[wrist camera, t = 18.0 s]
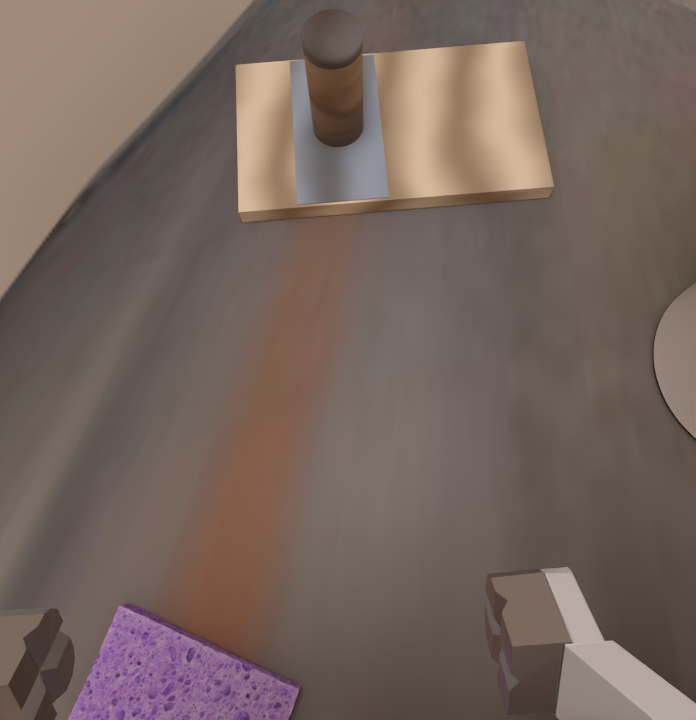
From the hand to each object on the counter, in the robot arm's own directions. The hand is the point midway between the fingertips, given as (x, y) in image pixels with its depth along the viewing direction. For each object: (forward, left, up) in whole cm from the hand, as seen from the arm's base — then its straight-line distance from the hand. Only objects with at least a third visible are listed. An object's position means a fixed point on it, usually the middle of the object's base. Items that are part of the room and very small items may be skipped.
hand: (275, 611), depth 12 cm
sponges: (+10, +7, -30) cm, 32 cm away
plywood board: (-6, -33, -29) cm, 45 cm away
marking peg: (-2, -33, -28) cm, 43 cm away
